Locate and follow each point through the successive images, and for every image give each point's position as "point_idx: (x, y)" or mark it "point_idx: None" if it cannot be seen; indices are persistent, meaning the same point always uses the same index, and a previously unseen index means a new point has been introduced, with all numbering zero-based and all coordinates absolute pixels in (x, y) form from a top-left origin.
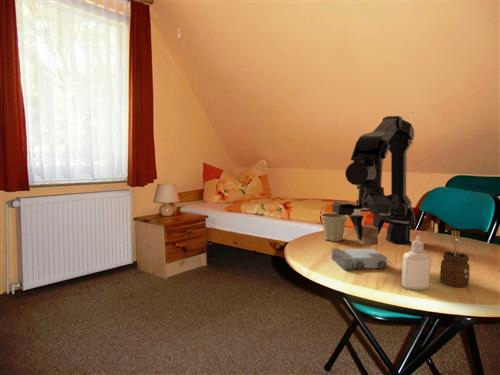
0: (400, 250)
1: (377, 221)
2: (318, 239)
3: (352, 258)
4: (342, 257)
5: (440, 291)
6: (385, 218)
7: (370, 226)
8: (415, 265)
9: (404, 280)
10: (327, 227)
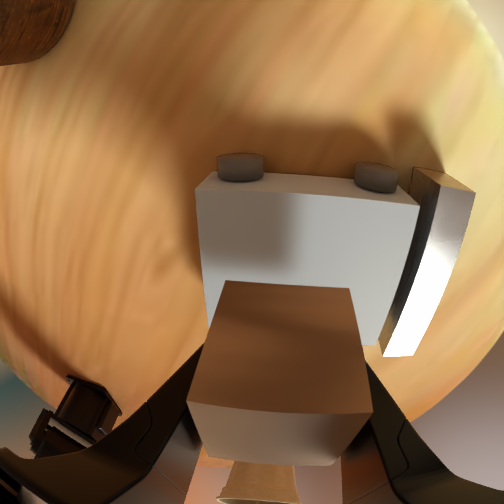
0: (95, 349)
1: (166, 476)
2: None
3: (410, 225)
4: (464, 231)
5: None
6: (68, 477)
7: (240, 446)
8: None
9: None
10: (291, 474)
